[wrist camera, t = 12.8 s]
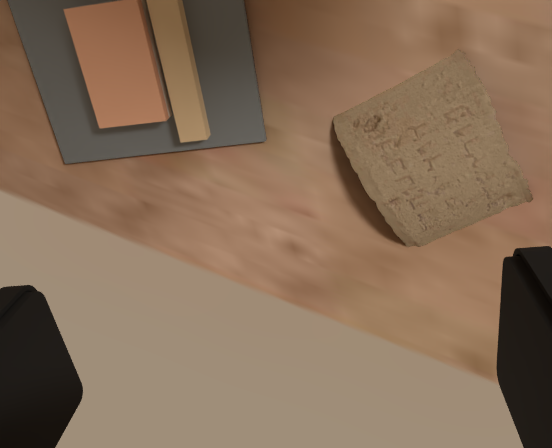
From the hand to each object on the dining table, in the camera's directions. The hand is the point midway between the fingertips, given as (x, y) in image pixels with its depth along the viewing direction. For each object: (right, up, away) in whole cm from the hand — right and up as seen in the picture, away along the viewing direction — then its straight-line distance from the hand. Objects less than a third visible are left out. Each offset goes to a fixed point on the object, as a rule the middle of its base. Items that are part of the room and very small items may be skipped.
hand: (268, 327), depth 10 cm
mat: (-10, +16, +25) cm, 31 cm away
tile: (-8, +13, +25) cm, 29 cm away
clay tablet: (+12, +7, +28) cm, 31 cm away
